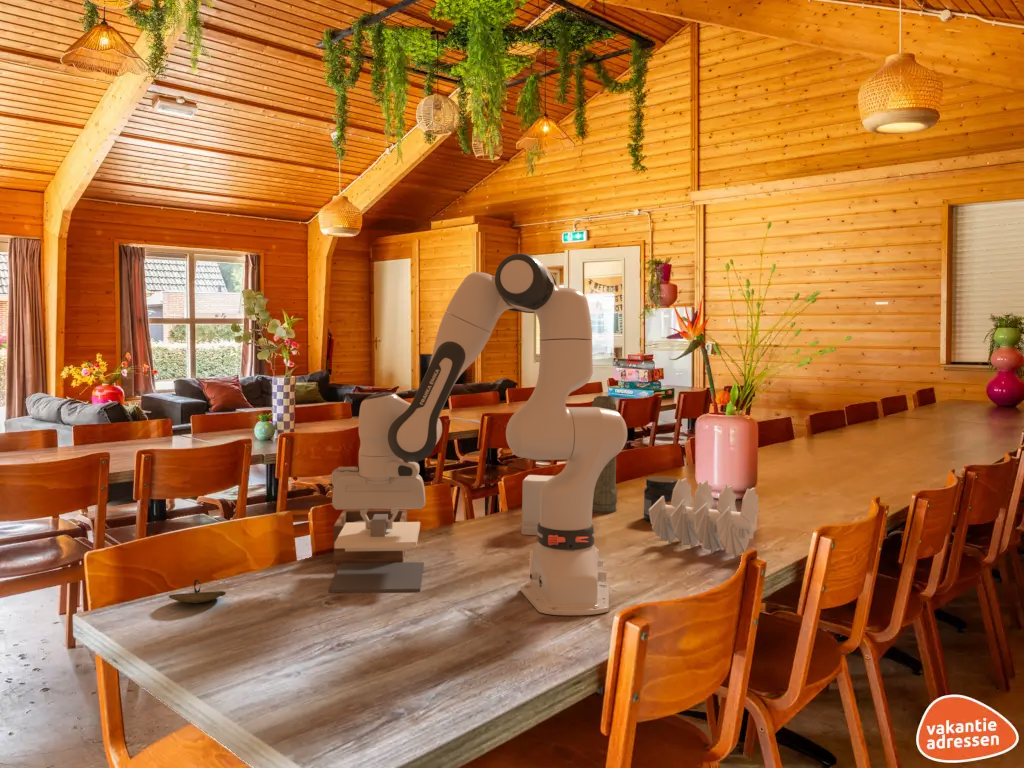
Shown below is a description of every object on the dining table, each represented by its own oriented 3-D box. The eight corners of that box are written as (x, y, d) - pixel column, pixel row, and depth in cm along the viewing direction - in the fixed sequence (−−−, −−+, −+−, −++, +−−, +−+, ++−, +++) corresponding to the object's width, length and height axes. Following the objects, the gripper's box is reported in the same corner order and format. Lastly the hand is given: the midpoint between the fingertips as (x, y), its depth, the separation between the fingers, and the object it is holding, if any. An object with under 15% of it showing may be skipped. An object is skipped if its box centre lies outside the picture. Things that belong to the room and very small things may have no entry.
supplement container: (686, 522, 231) (687, 481, 230) (655, 525, 227) (656, 483, 226) (666, 514, 240) (667, 475, 239) (636, 517, 236) (637, 477, 236)
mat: (420, 591, 167) (420, 588, 167) (328, 592, 166) (328, 589, 166) (423, 564, 186) (423, 562, 186) (341, 565, 185) (341, 563, 185)
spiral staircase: (669, 553, 213) (761, 566, 197) (640, 537, 200) (736, 549, 184) (681, 487, 218) (771, 495, 203) (653, 467, 205) (747, 474, 190)
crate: (402, 563, 188) (402, 525, 187) (333, 563, 186) (333, 525, 186) (406, 544, 203) (406, 510, 203) (343, 545, 202) (343, 510, 202)
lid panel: (416, 553, 168) (416, 528, 168) (334, 554, 167) (334, 528, 167) (420, 532, 185) (420, 509, 185) (346, 532, 184) (345, 509, 184)
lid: (166, 616, 152) (165, 590, 151) (171, 599, 161) (171, 575, 161) (225, 611, 155) (224, 585, 155) (226, 594, 164) (226, 570, 164)
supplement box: (553, 537, 213) (554, 481, 212) (520, 535, 214) (521, 480, 213) (558, 529, 221) (559, 475, 220) (527, 527, 223) (527, 474, 222)
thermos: (612, 515, 238) (614, 398, 236) (578, 509, 245) (580, 396, 243) (626, 510, 245) (628, 396, 243) (593, 504, 252) (595, 394, 250)
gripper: (328, 469, 171) (329, 532, 172) (424, 469, 172) (424, 531, 173) (333, 464, 177) (333, 525, 178) (425, 463, 179) (425, 524, 180)
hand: (379, 528), depth 176 cm, fingers closed on lid panel, 3 cm apart
